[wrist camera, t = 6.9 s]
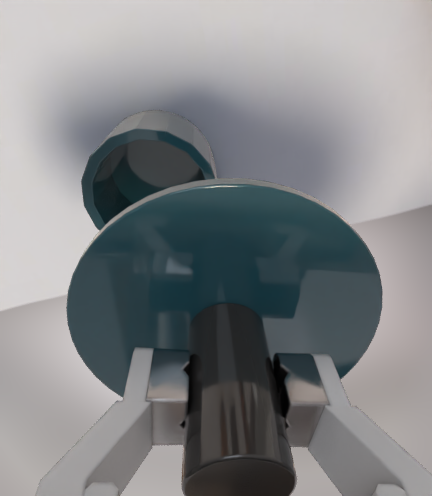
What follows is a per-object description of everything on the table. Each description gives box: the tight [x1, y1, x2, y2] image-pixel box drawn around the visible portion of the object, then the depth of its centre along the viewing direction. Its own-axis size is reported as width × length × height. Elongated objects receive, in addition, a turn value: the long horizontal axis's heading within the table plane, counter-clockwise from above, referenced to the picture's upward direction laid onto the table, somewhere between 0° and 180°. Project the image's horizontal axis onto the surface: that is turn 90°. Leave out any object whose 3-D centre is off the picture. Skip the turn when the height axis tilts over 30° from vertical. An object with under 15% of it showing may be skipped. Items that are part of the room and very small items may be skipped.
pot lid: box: [66, 178, 382, 496], centre depth 10 cm, size 10×10×6 cm
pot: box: [81, 110, 217, 230], centre depth 27 cm, size 9×9×6 cm
